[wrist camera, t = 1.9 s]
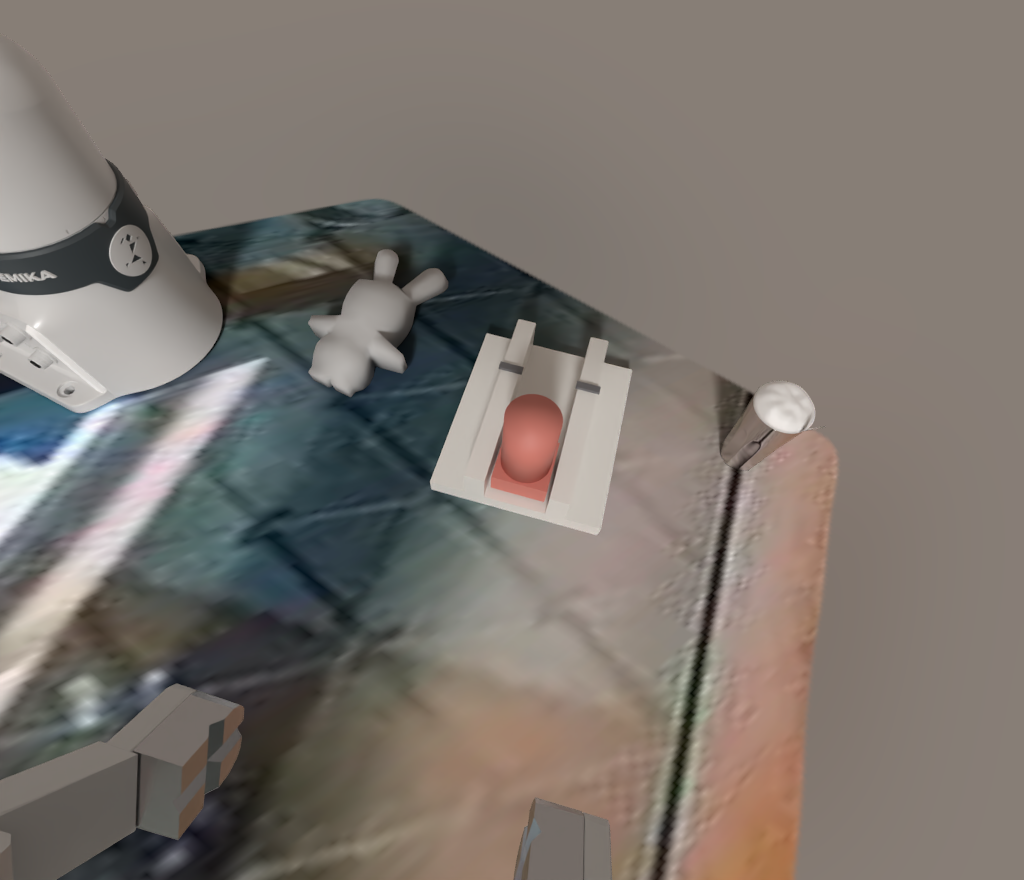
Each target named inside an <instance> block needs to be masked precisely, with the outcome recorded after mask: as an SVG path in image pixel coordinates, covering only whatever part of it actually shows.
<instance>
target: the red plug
mask: <svg viewBox="0 0 1024 880" xmlns="http://www.w3.org/2000/svg"><path fill="white" fill-rule="evenodd" d="M562 426H563V416H562V413H561V410H560V409H559V407H558V406H557V404H556V403H554V402H553V401H552V400H551V399H549V398H547V397H545V396H542V395H538V394H526V395H522V396H519V397H517V398H515V399H514V400H513V401H512V402H510V404H509V405H508V406H507V408H506V410H505V414H504V424H503V436H502V444H501V448H500V451H499V454H498V457H497V460H496V463H495V466H494V469H493V473H492V476H491V488H494V489H498V490H502V491H505V492H509V493H513V494H516V495H520V496H524V497H527V498H531V499H534V500H538V501H542V502H544V501H545V497H546V494H547V490H548V487H549V483H550V479H551V475H552V471H553V467H554V463H555V460H556V456H557V452H558V448H559V444H560V443H558V440H559V436H560V433H561V429H562Z"/></svg>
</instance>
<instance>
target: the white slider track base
mask: <svg viewBox="0 0 1024 880" xmlns="http://www.w3.org/2000/svg"><path fill="white" fill-rule="evenodd" d="M535 327H536V323H533V322H529V321H525V320H521V319H518V322H517V325H516V328H515V331H514V334H513V336H512V339H508V338H504V337H500V336H496V335H492V334H488V333H487V334H486V337H485V339H484V342H483V344H482V347H481V350H480V352H479V355H478V358H477V360H476V363H475V365H474V368H473V371H472V373H471V376H470V378H469V381H468V384H467V386H466V389H465V392H464V394H463V397H462V399H461V402H460V405H459V407H458V410H457V412H456V415H455V418H454V420H453V423H452V426H451V428H450V431H449V433H448V436H447V439H446V441H445V444H444V446H443V449H442V452H441V454H440V457H439V460H438V462H437V465H436V467H435V470H434V473H433V475H432V478H431V480H430V485H431V489H432V490H435V491H439V492H443V493H446V494H450V495H453V496H457V497H461V498H464V499H468V500H471V501H475V502H479V503H482V504H486V505H489V506H493V507H497V508H500V509H504V510H508V511H511V512H515V513H518V514H522V515H526V516H529V517H533V518H536V519H540V520H544V521H547V522H551V523H554V524H558V525H562V526H565V527H569V528H572V529H576V530H580V531H583V532H587V533H590V534H594V535H598V533H599V531H600V530H601V526H602V521H603V516H604V511H605V506H606V501H607V496H608V491H609V485H610V480H611V475H612V470H613V465H614V460H615V455H616V450H617V445H618V440H619V435H620V430H621V425H622V419H623V414H624V409H625V404H626V399H627V394H628V389H629V384H630V379H631V374H632V370H631V369H627V368H623V367H619V366H615V365H611V364H607V363H604V359H605V355H606V351H607V346H608V342H609V341H606V340H602V339H597V338H593V337H591V338H590V342H589V345H588V349H587V352H586V356H585V358H583V357H580V356H576V355H572V354H568V353H564V352H560V351H556V350H552V349H548V348H544V347H540V346H536V345H533V341H534V334H535ZM526 394H538V395H542V396H545V397H547V398H549V399H551V400H552V401H553V402H554V403H556V404H557V406H558V407H559V409H560V410H561V413H562V416H563V426H562V429H561V433H560V436H559V440H558V443H560V444H559V448H558V452H557V456H556V460H555V463H554V467H553V471H552V475H551V479H550V483H549V487H548V490H547V494H546V497H545V501H544V502H542V501H538V500H534V499H531V498H527V497H524V496H520V495H516V494H513V493H509V492H505V491H502V490H498V489H494V488H491V476H492V473H493V469H494V466H495V463H496V460H497V457H498V454H499V451H500V448H501V444H502V436H503V424H504V414H505V410H506V408H507V406H508V405H509V404H510V402H512V401H513V400H514V399H515V398H517V397H519V396H522V395H526Z"/></svg>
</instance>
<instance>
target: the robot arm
mask: <svg viewBox="0 0 1024 880" xmlns="http://www.w3.org/2000/svg"><path fill="white" fill-rule="evenodd" d="M222 321H223V313H222V308H221V304H220V302H219V300H218V298H217V296H216V295H215V294H214V293H213V291H212V290H211V289H210V288H209V286H208V285H207V283H206V274H205V268H204V266H203V264H202V263H201V261H200V260H199V259H198V258H197V257H196V256H194V255H190V254H186V253H185V252H184V251H183V249H182V248H181V247H180V245H179V244H178V243H177V241H176V240H175V239H174V237H173V236H172V235H171V234H170V232H169V231H168V230H167V228H166V227H165V226H164V224H163V223H162V222H161V221H160V219H159V218H158V217H157V215H156V214H155V213H154V212H153V211H152V210H151V209H150V208H149V207H147V206H145V205H142V204H141V202H140V200H139V199H138V197H137V193H136V192H135V190H134V189H133V187H132V186H131V184H130V183H129V181H128V180H127V179H125V178H124V177H123V175H122V174H121V172H120V171H119V170H118V168H117V167H116V166H115V165H114V164H113V163H111V162H110V161H108V160H107V159H105V158H104V157H103V155H102V154H101V152H100V151H99V149H98V148H97V146H96V144H95V143H94V141H93V140H92V138H91V137H90V135H89V134H88V132H87V131H86V129H85V128H84V126H83V125H82V123H81V122H80V120H79V118H78V117H77V115H76V114H75V112H74V111H73V109H72V108H71V106H70V105H69V103H68V102H67V100H66V99H65V97H64V96H63V94H62V92H61V91H60V89H59V88H58V86H57V85H56V83H55V82H54V80H53V79H52V77H51V75H50V74H49V73H48V71H47V70H46V69H45V68H44V67H43V66H42V65H41V64H40V62H39V61H38V60H37V59H36V58H35V57H33V56H32V55H31V54H30V53H29V52H28V51H27V50H26V49H24V48H23V47H22V46H20V45H19V44H17V43H16V42H15V41H13V40H11V39H10V38H8V37H6V36H5V35H3V34H1V33H0V373H2V374H4V375H6V376H7V377H9V378H11V379H13V380H15V381H17V382H19V383H21V384H22V385H24V386H26V387H28V388H30V389H32V390H34V391H36V392H37V393H39V394H41V395H43V396H45V397H47V398H49V399H50V400H52V401H54V402H56V403H58V404H60V405H62V406H64V407H65V408H67V409H69V410H71V411H73V412H76V413H84V412H88V411H91V410H94V409H96V408H98V407H100V406H102V405H104V404H106V403H108V402H109V401H111V400H113V399H115V398H117V397H120V396H123V395H127V394H131V393H136V392H140V391H144V390H148V389H152V388H155V387H158V386H160V385H163V384H165V383H167V382H170V381H172V380H174V379H176V378H177V377H179V376H181V375H183V374H184V373H186V372H187V371H189V370H190V369H191V368H193V367H194V366H195V365H196V364H197V363H199V362H200V361H201V360H202V359H203V358H204V357H205V356H206V354H207V353H208V352H209V351H210V350H211V348H212V347H213V345H214V344H215V342H216V340H217V338H218V336H219V334H220V331H221V327H222ZM72 392H73V393H72ZM71 393H72V394H71ZM243 716H244V707H243V706H241V705H238V704H235V703H232V702H230V701H227V700H224V699H221V698H218V697H215V696H212V695H210V694H207V693H204V692H201V691H197V690H194V689H191V688H188V687H186V686H183V685H180V684H175V685H172V686H170V687H168V688H167V689H166V690H164V691H163V692H162V693H161V694H160V695H159V696H158V697H157V698H156V699H154V700H153V701H152V702H151V703H150V704H149V705H148V706H147V707H146V708H145V709H143V710H142V711H141V712H140V713H139V714H138V715H137V716H136V717H135V718H133V719H132V720H131V721H130V722H129V723H128V724H127V725H126V726H125V727H124V728H122V729H121V730H120V731H119V732H118V733H117V734H116V735H115V736H114V737H112V738H111V739H110V740H109V741H108V742H107V743H103V742H100V741H99V742H96V743H94V744H91V745H89V746H86V747H84V748H81V749H79V750H76V751H73V752H71V753H68V754H66V755H63V756H61V757H58V758H56V759H53V760H51V761H48V762H46V763H43V764H40V765H38V766H35V767H33V768H30V769H28V770H25V771H23V772H20V773H18V774H15V775H13V776H10V777H7V778H5V779H2V780H0V880H56V879H58V878H59V877H61V876H62V875H64V874H66V873H67V872H69V871H71V870H72V869H74V868H75V867H77V866H79V865H80V864H82V863H83V862H85V861H87V860H88V859H90V858H92V857H93V856H95V855H96V854H98V853H100V852H101V851H103V850H104V849H106V848H108V847H109V846H111V845H113V844H114V843H116V842H117V841H119V840H121V839H122V838H124V837H125V836H127V835H129V834H130V833H132V832H134V831H135V829H136V827H137V828H140V829H143V830H147V831H150V832H153V833H157V834H160V835H163V836H167V837H170V838H173V839H177V840H178V839H179V838H180V836H181V835H182V834H183V833H184V831H185V830H186V829H187V827H188V826H189V825H190V824H191V822H192V821H193V820H194V818H195V817H196V816H197V815H198V813H199V812H200V811H201V809H202V808H203V802H204V794H206V793H208V792H210V791H212V790H214V789H216V788H218V787H219V786H220V785H221V783H222V782H223V781H224V779H225V778H226V776H227V775H228V774H229V772H230V770H231V768H232V766H233V764H234V762H235V761H236V759H237V756H238V753H239V749H240V746H241V738H242V737H241V735H240V733H239V731H238V729H237V727H238V726H239V724H240V723H241V722H242V721H243ZM514 880H612V866H611V841H610V825H609V822H608V820H606V819H603V818H600V817H597V816H593V815H590V814H587V813H584V812H583V813H582V811H579V810H576V809H572V808H569V807H566V806H562V805H559V804H556V803H552V802H549V801H546V800H542V799H539V798H536V797H535V798H534V800H533V802H532V806H531V809H530V813H529V821H528V826H526V827H525V828H524V831H523V835H522V838H521V842H520V846H519V851H518V855H517V860H516V866H515V873H514Z"/></svg>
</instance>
